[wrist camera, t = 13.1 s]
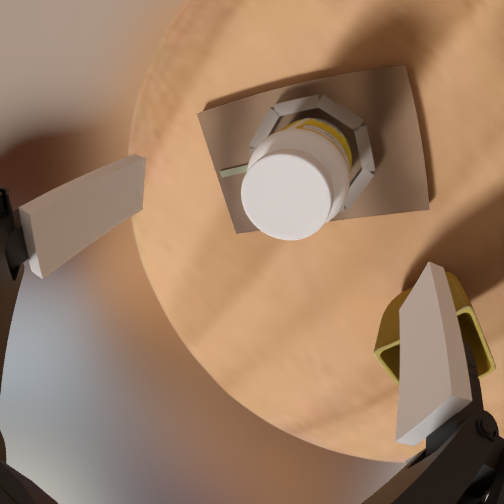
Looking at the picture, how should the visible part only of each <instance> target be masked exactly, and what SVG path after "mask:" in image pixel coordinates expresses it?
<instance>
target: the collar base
mask: <svg viewBox="0 0 504 504" xmlns="http://www.w3.org/2000/svg"><path fill="white" fill-rule="evenodd" d="M197 115H198V118H199V121H200V125H201V128H202V131H203V134H204V137H205V140H206V143H207V146H208V149H209V152H210V155H211V158H212V161H213V164H214V167H215V170H216V173H217V177H218V180H219V183H220V186H221V189H222V192H223V195H224V198H225V201H226V204H227V207H228V210H229V213H230V216H231V219H232V222H233V225H234V228H235V231H236V234H238V233H245V232H252V231H260V229H258V228H257V227H256V226H255V225H254V224H253V223H252V221H251V220H250V219H249V217H248V216H247V214H246V212H245V210H244V207H243V204H242V199H241V188H242V182H243V179H244V177H245V175H246V173H247V168H248V163H249V160H250V158H251V156H252V154H253V152H254V150H255V149H256V148H257V146H258V145H259V144H260V143H261V142H262V141H263V140H264V139H265V138H267V137H268V136H270V135H271V134H273V133H275V132H277V131H279V130H281V129H282V128H284V127H286V126H288V125H289V124H291V123H293V122H295V121H298V120H301V119H304V118H320V119H324V120H327V121H329V122H331V123H333V124H334V125H336V126H337V127H338V128H339V129H340V130H341V131H342V132H343V133H344V134H345V136H346V137H347V139H348V141H349V144H350V147H351V151H352V165H351V176H350V186H349V191H348V195H347V198H346V201H345V203H344V205H343V207H342V208H341V210H340V211H339V212H338V213H337V215H336V216H335V217H334V218H332V219H331V220H330V221H336V220H344V219H352V218H360V217H369V216H377V215H385V214H394V213H403V212H412V211H421V210H430V209H429V197H428V186H427V177H426V169H425V161H424V154H423V147H422V141H421V135H420V129H419V123H418V118H417V113H416V108H415V103H414V99H413V94H412V90H411V86H410V82H409V78H408V74H407V70H406V66H405V65H399V66H390V67H383V68H376V69H369V70H362V71H356V72H351V73H345V74H340V75H334V76H329V77H324V78H320V79H315V80H310V81H306V82H302V83H297V84H293V85H289V86H285V87H281V88H278V89H274V90H270V91H266V92H263V93H259V94H256V95H252V96H249V97H246V98H242V99H239V100H236V101H233V102H230V103H226V104H223V105H220V106H217V107H214V108H211V109H209V110H206V111H203V112H200V113H197Z"/></svg>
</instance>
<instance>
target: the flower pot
mask: <svg viewBox="0 0 504 504" xmlns="http://www.w3.org/2000/svg"><path fill="white" fill-rule="evenodd" d="M445 274H446V277H447V281H448V284H449V288H450V291H451V295H452V299H453V302H454V306H455V310H456V314H457V318H458V323H459V327H460V331H461V336H462V341H464V342H466V343H468V344H469V346H470V347H471V349H472V351H473V353H474V355H475V360H476V365H477V367H476V369H477V370H478V378H481V377H484V376H486V375H488V374H489V373H491V372H492V371H494V370H495V369H496V365H495V363H494V360H493V357H492V355H491V352H490V349H489V347H488V344H487V342H486V339H485V337H484V335H483V332H482V329H481V327H480V324H479V322H478V319H477V317H476V314H475V311H474V309H473V307H472V305H471V303H470V301H469V299H468V297H467V295H466V292H465V291H464V289H463V287H462V285H461V283H460V281H459V280H458V278H457V277H456V276H455V275H453V274H452V273H450V272H447V271H445ZM413 287H414V286H413ZM413 287H411V288H409V289H407V290H405V291H403V292H402V293H400V294H399V295H398V296H397V297H396V298H394V299H393V300H392V301H391V303H390V304H389V305H388V307H387V308H386V310H385V312H384V314H383V317H382V320H381V324H380V328H379V332H378V336H377V341H376V345H375V349H374V356H375V357H376V359H377V360H378V361H379V362H380V364H381V365H382V366H383V368H384V369H385V370H386V371H387V372H388V374H389V375H390V376H391V377H392V379H393V380H394V381H395V382H396V384H397V385H398V386H399V379H400V319H399V309H400V308H401V306H402V305H403V303H404V302H405V300H406V299H407V297H408V295H409V294H410V292H411V290H412V289H413Z"/></svg>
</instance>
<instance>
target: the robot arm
mask: <svg viewBox="0 0 504 504" xmlns="http://www.w3.org/2000/svg"><path fill="white" fill-rule="evenodd" d="M145 163H146V158H145V157H142V156H138V155H135V154H133V155H130V156H128V157H125V158H123V159H120V160H118V161H115V162H113V163H110V164H108V165H106V166H103V167H101V168H99V169H96V170H94V171H92V172H90V173H87V174H85V175H83V176H81V177H79V178H76V179H74V180H72V181H70V182H68V183H66V184H64V185H62V186H60V187H57V188H55V189H53V190H52V191H50V192H47V193H45V194H43V195H42V196H40V197H38V198H36V199H34V200H32V201H30V202H28V203H26V204H25V205H23V206H21V207H19V208H18V209H17V210H15V211H13V212H12V206H11V200H10V193H9V190H8V189H7V188H4V187H1V188H0V392H1V381H2V374H3V366H4V359H5V353H6V346H7V341H8V335H9V330H10V325H11V321H12V316H13V311H14V307H15V303H16V299H17V295H18V291H19V287H20V284H21V280H22V277H23V273H24V264H23V262H24V261H26V260H27V259H29V262H30V267H31V271H32V272H33V273H35V274H36V275H38V276H39V277H41V278H42V279H44V278H45V277H46V276H48V275H49V274H50V273H52V272H53V271H54V270H55V269H57V268H58V267H60V266H61V265H62V264H64V263H65V262H66V261H67V260H69V259H70V258H72V257H73V256H74V255H76V254H77V253H79V252H80V251H81V250H83V249H84V248H86V247H87V246H89V245H90V244H91V243H93V242H94V241H96V240H97V239H99V238H100V237H101V236H103V235H104V234H106V233H107V232H109V231H110V230H112V229H113V228H115V227H116V226H118V225H119V224H121V223H122V222H124V221H125V220H127V219H128V218H130V217H131V216H133V215H135V214H136V213H138V212H139V211H141V210H142V209H143V191H144V176H145ZM399 319H400V379H399V401H398V416H397V428H396V439H395V442H398V443H402V444H407V445H411V446H416V445H417V444H418V443H420V442H421V441H423V440H424V439H425V438H426V448H425V449H424V450H422V451H421V452H419V453H418V454H416V455H415V456H413V457H412V458H410V459H408V460H407V461H406V463H407V465H406V466H405V467H404V468H403V469H402V470H401V471H400V472H399V473H397V474H396V475H395V476H394V477H393V478H392V479H391V480H390V481H388V482H387V483H386V484H385V485H384V486H383V487H381V488H380V489H379V490H378V491H377V492H375V493H374V494H373V495H372V496H370V497H369V498H368V499H367V500H365V501H364V502H363V503H362V504H504V439H503V438H502V437H500V436H499V431H498V426H497V423H496V421H495V419H494V418H493V416H492V415H491V414H490V413H488V412H487V411H485V410H484V408H483V401H482V394H481V387H480V381H479V378H478V370H477V369H476V367H477V365H476V360H475V355H474V353H473V351H472V349H471V347H470V346H469V344H468V343H466V342H464V341H462V336H461V331H460V327H459V323H458V318H457V314H456V310H455V306H454V302H453V299H452V295H451V291H450V288H449V284H448V281H447V277H446V274H445V271H444V268H443V267H441V266H439V265H436V264H434V263H432V262H430V261H429V262H428V263H427V265H426V267H425V269H424V270H423V272H422V274H421V276H420V277H419V279H418V281H417V282H416V284H415V286H414V287H413V289H412V290H411V292H410V294H409V295H408V297H407V299H406V300H405V302H404V303H403V305H402V306H401V308H400V309H399ZM488 494H489V496H488V498H487V500H486V501H485V499H486V496H487V495H488ZM0 504H58V503H57V502H56V501H55V500H54V499H53V498H51V497H50V496H49V495H48V494H46V493H45V492H44V491H43V490H42V489H41V488H39V487H38V486H37V485H36V484H35V483H34V482H32V481H31V480H30V479H28V478H27V477H25V476H23V475H22V474H21V473H19V472H18V471H16V470H15V469H13V468H12V467H10V466H9V465H7V464H6V448H5V442H4V439H3V436H2V434H1V431H0Z"/></svg>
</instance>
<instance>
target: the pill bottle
mask: <svg viewBox="0 0 504 504" xmlns="http://www.w3.org/2000/svg"><path fill="white" fill-rule="evenodd" d="M351 165H352V151H351V147H350V144H349V141H348V139H347V137H346V136H345V134H344V133H343V132H342V131H341V130H340V129H339V128H338V127H337V126H336V125H334V124H333V123H331V122H329V121H327V120H324V119H320V118H304V119H301V120H298V121H295V122H293V123H291V124H289V125H288V126H286V127H284V128H282V129H281V130H279V131H277V132H275V133H273V134H271V135H270V136H268V137H267V138H265V139H264V140H263V141H262V142H261V143H260V144H259V145H258V146H257V148H256V149H255V150H254V152H253V154H252V156H251V158H250V160H249V163H248V168H247V173H246V175H245V177H244V179H243V182H242V188H241V199H242V204H243V207H244V210H245V212H246V214H247V216H248V217H249V219H250V220H251V221H252V223H253V224H254V225H255V226H256V227H257V228H258V229H260V230H261V231H263V232H264V233H266V234H267V235H270V236H272V237H275V238H278V239H283V240H298V239H303V238H306V237H308V236H310V235H312V234H314V233H315V232H317V231H318V230H319V229H320V228H321V227H322V226H323V225H324V224H325V223H327V222H328V221H330V220H331V219H332V218H334V217H335V216H336V215H337V213H338V212H339V211H340V210H341V208H342V207H343V205H344V203H345V201H346V198H347V195H348V191H349V186H350V176H351Z"/></svg>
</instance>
